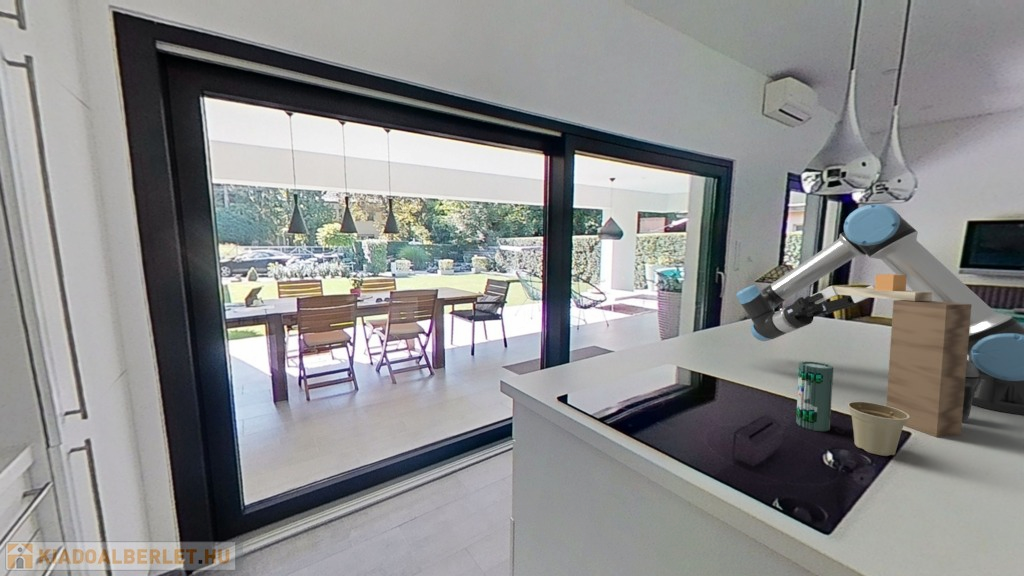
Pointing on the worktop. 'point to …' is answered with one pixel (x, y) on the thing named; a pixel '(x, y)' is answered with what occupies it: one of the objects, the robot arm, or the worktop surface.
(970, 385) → the beverage cup
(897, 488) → the worktop surface
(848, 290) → the slat
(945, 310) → the stand
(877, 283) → the cube
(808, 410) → the can
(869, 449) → the flower pot
